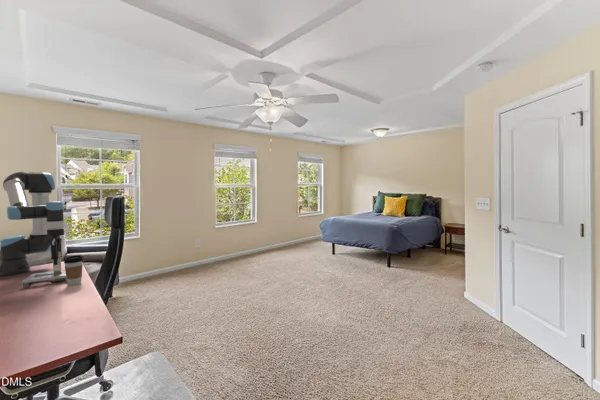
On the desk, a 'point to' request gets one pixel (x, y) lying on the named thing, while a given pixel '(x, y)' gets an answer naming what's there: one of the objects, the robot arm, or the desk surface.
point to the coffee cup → (73, 269)
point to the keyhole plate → (46, 277)
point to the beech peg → (58, 270)
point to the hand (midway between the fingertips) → (57, 269)
